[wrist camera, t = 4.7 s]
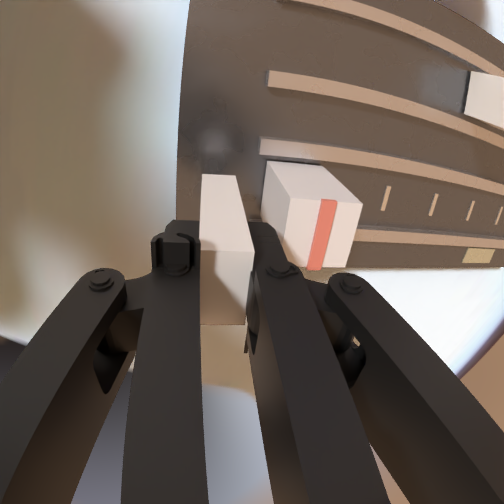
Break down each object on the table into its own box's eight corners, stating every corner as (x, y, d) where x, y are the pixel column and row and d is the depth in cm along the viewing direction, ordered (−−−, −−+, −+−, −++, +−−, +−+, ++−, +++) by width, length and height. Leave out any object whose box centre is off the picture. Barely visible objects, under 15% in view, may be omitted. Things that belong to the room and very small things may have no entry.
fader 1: (260, 214, 17) (279, 269, 13) (267, 159, 16) (291, 198, 11) (312, 217, 18) (345, 270, 14) (322, 165, 16) (364, 204, 12)
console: (178, 247, 20) (176, 270, 18) (199, -45, 11) (199, -62, 9) (498, 255, 25) (514, 270, 23) (546, 88, 16) (567, 95, 14)
